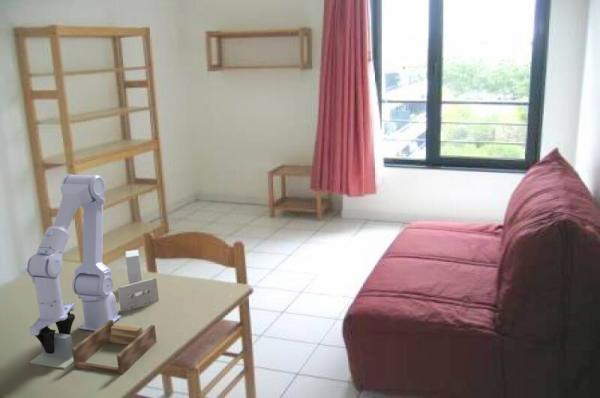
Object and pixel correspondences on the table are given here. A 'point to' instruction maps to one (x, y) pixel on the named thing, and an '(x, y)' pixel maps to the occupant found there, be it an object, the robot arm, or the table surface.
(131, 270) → the skincare box
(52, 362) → the mat
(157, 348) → the table surface
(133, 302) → the cassette
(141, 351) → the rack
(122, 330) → the offcut
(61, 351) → the grey rectangular box
